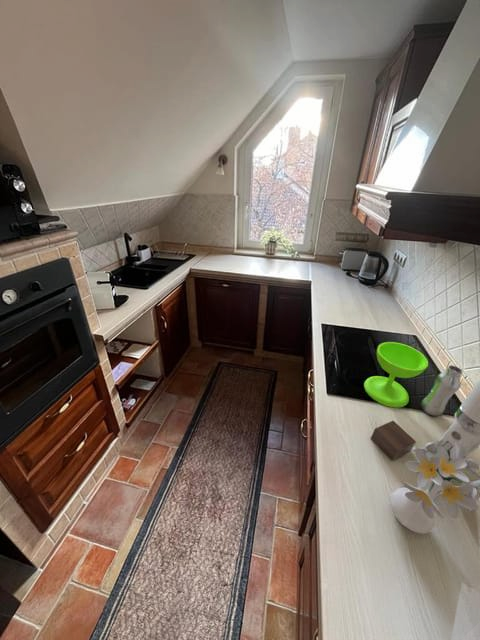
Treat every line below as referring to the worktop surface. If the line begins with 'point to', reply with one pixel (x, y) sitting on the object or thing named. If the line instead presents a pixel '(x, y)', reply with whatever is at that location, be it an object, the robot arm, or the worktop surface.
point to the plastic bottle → (442, 391)
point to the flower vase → (435, 487)
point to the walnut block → (392, 440)
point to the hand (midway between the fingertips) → (443, 461)
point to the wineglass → (395, 373)
